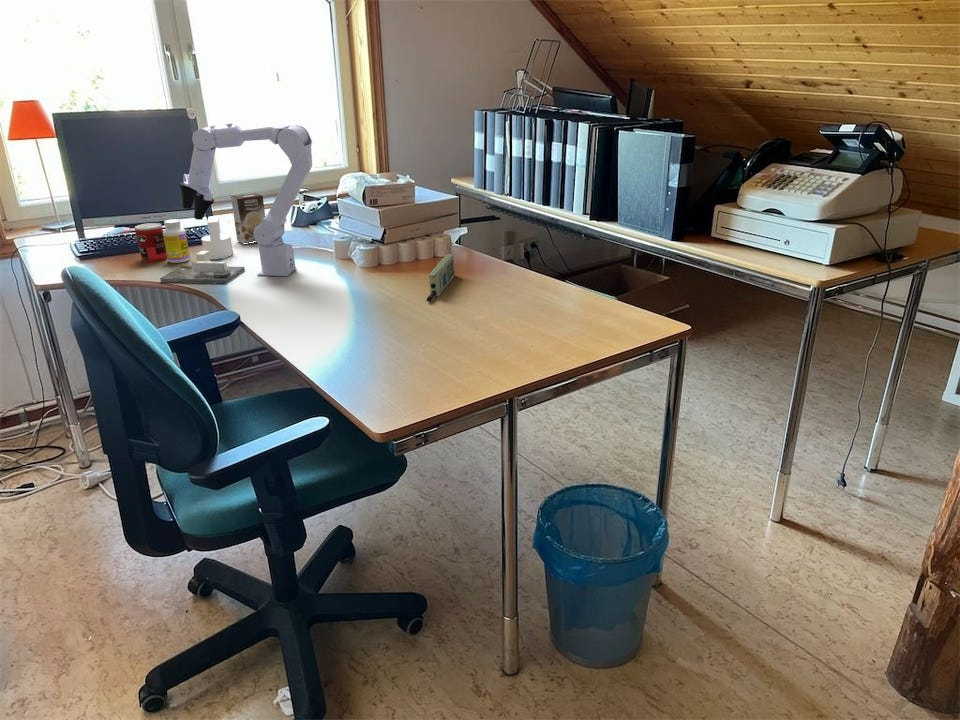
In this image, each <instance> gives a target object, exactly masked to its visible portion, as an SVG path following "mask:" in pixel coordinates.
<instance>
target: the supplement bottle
mask: <svg viewBox="0 0 960 720" xmlns="http://www.w3.org/2000/svg"><path fill="white" fill-rule="evenodd" d="M163 224H164V227H165V229H164V230H163V237H164V242H165V247H166V252H167V260H168V262H169V263H172V264H180V263H181V264H182V263H185V262H188V261H190V260H191V256H190V255H191V254H190V250H189V249H190V248H189V244H188V238H187V233H186V230H185V229H184V228H183V227H181V220H180V219H167V220H164V222H163Z"/></svg>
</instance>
